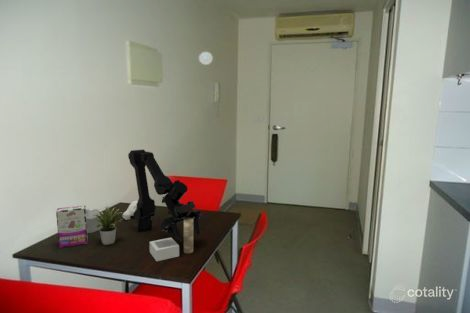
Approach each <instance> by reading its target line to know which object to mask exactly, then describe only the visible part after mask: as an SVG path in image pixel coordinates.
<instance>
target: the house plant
mask: <svg viewBox="0 0 470 313" xmlns="http://www.w3.org/2000/svg"><path fill="white" fill-rule="evenodd" d="M115 208H116V207H113V208H112V209H111V210H110V207H109V206H105V214H104V212H102V211H100V210H98V212H99V213H100V215H101V217H102V218H101V217H100V216H98V215H95V216H97V217H98V218H99V219H100V220H99V219H95V221H98V222H100V223H101V224H102V228H100V229H99V230H98V231H99V235H100V239H101V244H102V245H106V246H107V245H113V244H114V243H115V241H116V232H117V226H116V224H117V223H123V221H124V218H122V219H121V218H120V217H123V216H124V215H123V211H121V212H118V211H120V210H121V209H122V208H118V209H117V210H115ZM114 210H115V211H114ZM113 211H114V212H113ZM101 212H102V213H101ZM96 214H97V213H96ZM103 214H104V215H103ZM92 216H93V215H92ZM101 224H97V225H96V226H97V227H100V225H101Z"/></svg>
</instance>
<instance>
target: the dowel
mask: <svg viewBox="0 0 470 313" xmlns="http://www.w3.org/2000/svg"><path fill="white" fill-rule="evenodd" d="M183 253H184V254H192V253H194V229H193V218H184V221H183Z"/></svg>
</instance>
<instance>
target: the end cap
mask: <svg viewBox="0 0 470 313" xmlns="http://www.w3.org/2000/svg"><path fill="white" fill-rule="evenodd" d="M149 253H150V255H151V256H152V257H153V259H154V260H155V262H160V261H165V260H168V259H173V258H177V257H180V245H179V244H178V243H177V242H176V241H175V240H174V239H173V238H172V237H166V238H161V239H157V240H152V241H149Z"/></svg>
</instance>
